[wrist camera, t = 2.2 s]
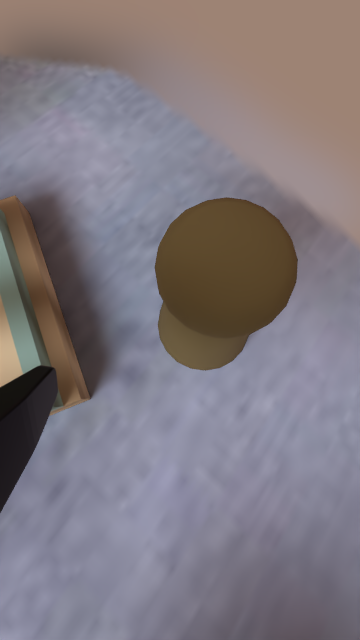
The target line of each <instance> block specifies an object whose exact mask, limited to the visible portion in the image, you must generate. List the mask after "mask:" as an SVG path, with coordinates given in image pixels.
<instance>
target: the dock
mask: <svg viewBox="0 0 360 640" xmlns="http://www.w3.org/2000/svg"><path fill="white" fill-rule="evenodd" d="M39 365H44V366H50V367H54V368H55V370H56V375H57V383H58V394H57V397H56V400H55V402H54V405H53V407H52V410H51V412H50V415H53V414H55V413H57V412H60V411H62V410H65V409H67V408H70V407H72V406H75V405H77V404H80V403H82V402H85V401H87V400H90V396H89V393H88V390H87V387H86V384H85V381H84V378H83V375H82V372H81V369H80V366H79V363H78V360H77V357H76V354H75V351H74V348H73V345H72V342H71V339H70V336H69V332H68V329H67V326H66V323H65V320H64V317H63V314H62V311H61V308H60V305H59V302H58V299H57V296H56V293H55V290H54V287H53V284H52V281H51V278H50V275H49V272H48V269H47V266H46V263H45V260H44V257H43V254H42V251H41V247H40V244H39V241H38V238H37V235H36V232H35V229H34V226H33V223H32V220H31V217H30V214H29V212H28V211H27V209H26V208H25V207H24V206H23V204H22V203H21V202H20V201H19V199H18V198H17V197H16V196H12V197H9V198H6V199H3V200H0V387H1V386H3V385H5V384H7V383H8V382H10V381H12V380H14V379H15V378H17V377H19V376H21V375H23V374H24V373H26V372H28V371H30V370H31V369H33V368H35V367H37V366H39ZM50 415H49V416H50Z"/></svg>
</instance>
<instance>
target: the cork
mask: <svg viewBox="0 0 360 640" xmlns="http://www.w3.org/2000/svg"><path fill="white" fill-rule="evenodd" d="M297 261H298V259H297V256H296V252H295V249H294V245H293V242H292V239H291V238H290V236H289V234H288V233H287V231H286V230H285V229H284V227H283V226H282V224H281V223H280V221H279V220H278V219H277V218H276V217H275V216H273V215H272V214H271V213H270V212H268V211H267V210H266V209H265V208H263V207H261V206H259V205H256V204H254V203H252V202H249V201H247V200H241V199H234V198H220V199H214V200H207V201H205V202H202V203H200V204H198V205H196V206H194V207H192V208H189V209H187V210H185V211H184V212H183V213H182V214H181V215H180V216H179V217H178V218H177V219H175V220H174V221H173V222H172V223H171V224H170V226H169V228H168V229H167V231H166V233H165V235H164V237H163V239H162V240H161V242H160V245H159V247H158V252H157V258H156V263H155V272H156V278H157V284H158V289H159V294H160V296H161V297H162V299H163V304H162V307H161V310H160V315H159V321H158V329H159V335H160V340H161V341H162V343H163V345H164V347H165V349H166V351H167V352H168V353H169V354H170V355H171V356H172V357H173V358H174V359H175V360H176V361H177V362H179V363H181V364H183V365H185V366H187V367H189V368H192V369H199V370H211V369H216V368H220V367H222V366H224V365H226V364H228V363H230V362H231V361H233V360H234V359H235V358H236V357H237V355H238V354H239V353H240V352H241V351H242V350H243V347H244V345H245V343H246V341H247V338H248V336H249V335H250V334H251V333H253V332H255V331H257V330H259V329H261V328H263V327H264V326H266V325H268V324H269V323H271V322H272V321H273V320H274V319H275V318H276V316H277V315H278V314H279V313H280V312H281V311H282V310H283V309H284V308H285V307H286V305H287V303H288V301H289V298H290V296H291V293H292V291H293V289H294V286H295V283H296V279H297Z"/></svg>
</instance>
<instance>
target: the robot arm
mask: <svg viewBox="0 0 360 640" xmlns="http://www.w3.org/2000/svg"><path fill="white" fill-rule="evenodd" d="M57 394H58V383H57V375H56V370H55V368H54V367H50V366H44V365H39V366H37V367H35V368H33V369H31V370H30V371H28V372H26V373H24V374H23V375H21V376H19V377H17V378H15V379H14V380H12V381H10V382H8V383H7V384H5V385H3V386H1V387H0V513H1V511H2V509H3V507H4V505H5V504H6V502H7V500H8V498H9V496H10V494H11V493H12V491H13V489H14V487H15V485H16V483H17V482H18V480H19V478H20V476H21V474H22V472H23V471H24V469H25V467H26V465H27V463H28V461H29V459H30V458H31V456H32V454H33V452H34V450H35V448H36V446H37V443H38V441H39V439H40V436H41V434H42V432H43V429H44V427H45V424H46V422H47V419H48V417H49V415H50V412H51V410H52V407H53V405H54V402H55V400H56V397H57Z"/></svg>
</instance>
